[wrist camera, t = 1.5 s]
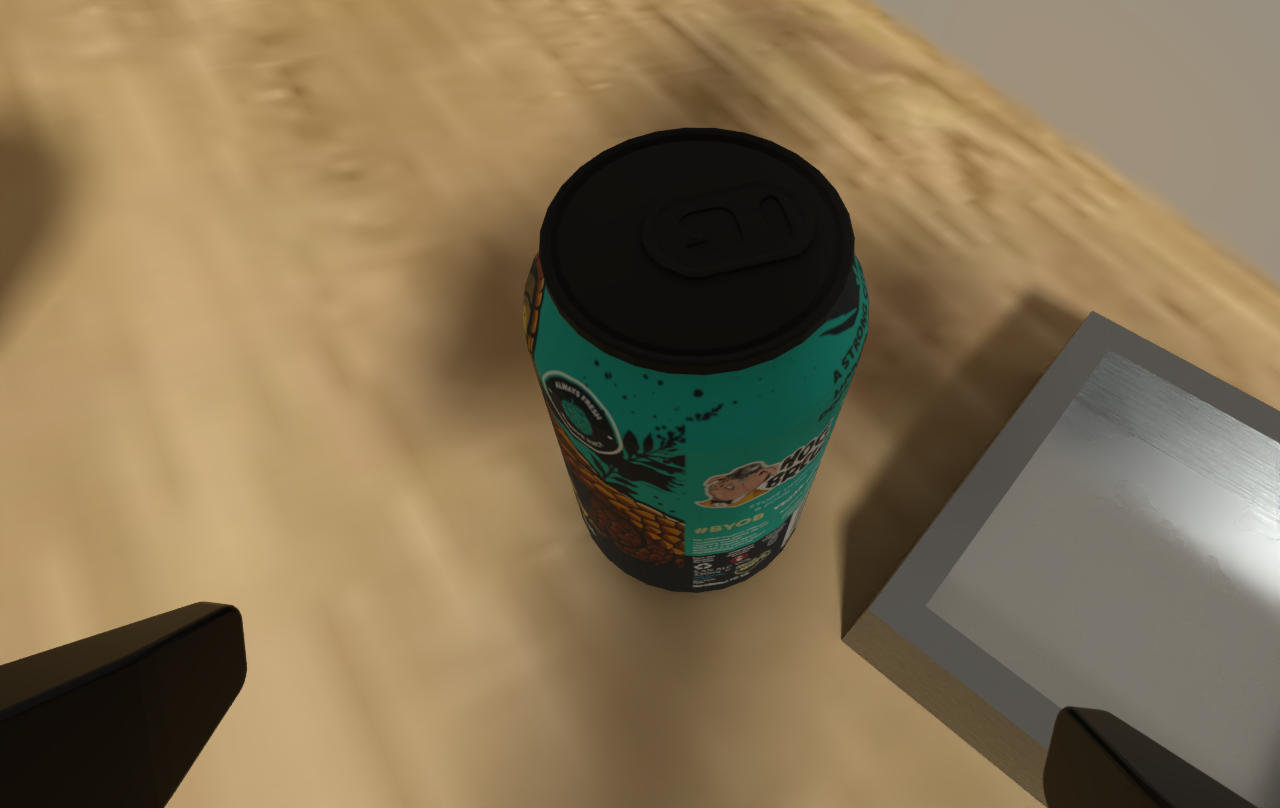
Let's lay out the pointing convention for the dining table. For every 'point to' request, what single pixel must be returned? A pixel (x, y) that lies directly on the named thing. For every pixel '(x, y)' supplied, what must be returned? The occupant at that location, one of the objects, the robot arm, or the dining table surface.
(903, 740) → the dining table surface
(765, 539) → the beverage can
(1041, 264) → the dining table surface
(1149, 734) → the open rectangular box
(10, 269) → the dining table surface
